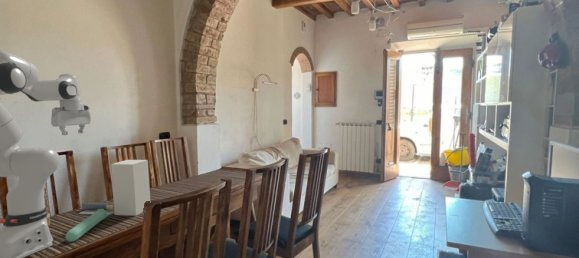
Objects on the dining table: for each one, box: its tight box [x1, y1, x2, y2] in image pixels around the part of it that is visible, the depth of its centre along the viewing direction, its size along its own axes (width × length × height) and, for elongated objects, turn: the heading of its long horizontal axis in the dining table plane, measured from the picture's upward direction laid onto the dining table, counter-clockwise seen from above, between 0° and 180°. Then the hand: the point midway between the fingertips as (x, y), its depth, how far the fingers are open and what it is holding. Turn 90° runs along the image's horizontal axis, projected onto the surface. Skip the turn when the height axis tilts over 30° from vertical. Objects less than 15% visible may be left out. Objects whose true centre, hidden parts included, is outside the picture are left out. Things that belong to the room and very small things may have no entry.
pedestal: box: [110, 159, 151, 217], centre depth 155 cm, size 12×12×26 cm
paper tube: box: [44, 180, 51, 227], centre depth 137 cm, size 7×7×25 cm
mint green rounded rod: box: [65, 209, 108, 242], centre depth 133 cm, size 6×6×25 cm
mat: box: [77, 210, 115, 217], centre depth 159 cm, size 14×18×1 cm
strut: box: [81, 201, 114, 211], centre depth 159 cm, size 4×20×3 cm, turn 81°
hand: (73, 134), depth 153 cm, fingers open, 8 cm apart
